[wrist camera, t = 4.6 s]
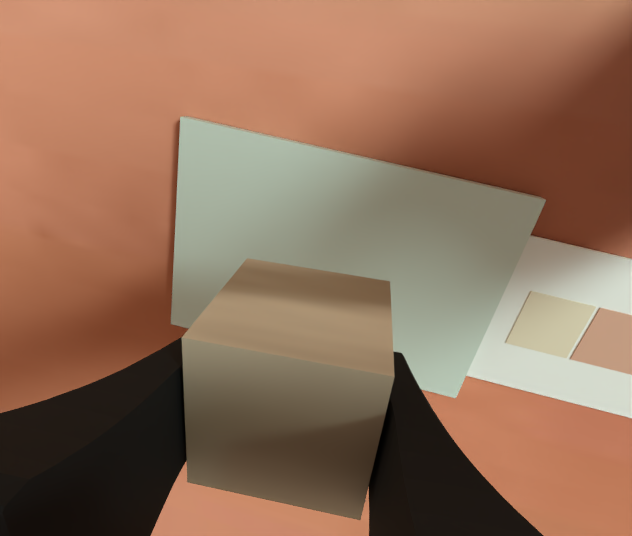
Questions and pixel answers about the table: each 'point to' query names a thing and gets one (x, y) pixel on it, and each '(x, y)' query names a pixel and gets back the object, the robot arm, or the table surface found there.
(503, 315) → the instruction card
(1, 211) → the table surface
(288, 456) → the beech block
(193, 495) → the table surface
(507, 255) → the plate
